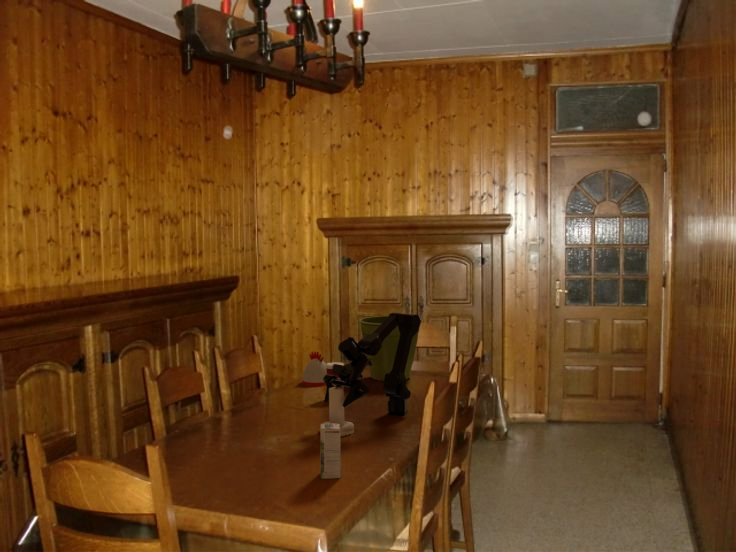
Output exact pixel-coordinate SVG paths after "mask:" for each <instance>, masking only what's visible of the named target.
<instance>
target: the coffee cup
mask: <svg viewBox="0 0 736 552" xmlns="http://www.w3.org/2000/svg"><path fill="white" fill-rule="evenodd" d="M333 364H338V365H343V366H345V363H343V362H337V361H336V362H335V361H334V362H327V363H326V367H325V368H326V371H327V374H329V375H334V376H335V377H336V378H337V379H338V380H340V378H338V376H337V375H338V374H335V373H332V372H331V371H332V368H333ZM340 387H342V388H344V386H340Z"/></svg>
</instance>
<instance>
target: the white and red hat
mask: <svg viewBox="0 0 736 552" xmlns="http://www.w3.org/2000/svg"><path fill="white" fill-rule="evenodd" d="M308 356H309V359H310V361H309V362H308V363H307V364H306V366H305V368H304V369H303V370H304V371H303V373H302V378H301V382H302V385H303V386H308V387H324V386H326V384H325V383H324V380H323V378H324V376H325V375H327V371H326V368H325V367H326V364H327V363H326V362H325V361H324V356H322V354H320V353H319V351H311V353H309V354H308Z"/></svg>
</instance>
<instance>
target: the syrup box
mask: <svg viewBox="0 0 736 552" xmlns="http://www.w3.org/2000/svg"><path fill="white" fill-rule="evenodd" d="M320 425H321V433H320V442H319V445H320V446H319V452H320V453H319V455H320V456H319V459H320V460H319V461H320V470H319V471H320V479H321V480H326V479H327V480H329V479H341V473H342V472H341V436H340V424H334V423H328V424H323V423H321V424H320Z"/></svg>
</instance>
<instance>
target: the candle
mask: <svg viewBox="0 0 736 552" xmlns="http://www.w3.org/2000/svg"><path fill="white" fill-rule="evenodd" d="M344 401H345V388H344V387H343V388H342V387H337V386H336V387H332V388H329V401H328V404H329V406H328V408H329V409H328V411H329V422H330V423H334V424H340V427H342V426H344V421H345V407H343V403H344Z"/></svg>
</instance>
